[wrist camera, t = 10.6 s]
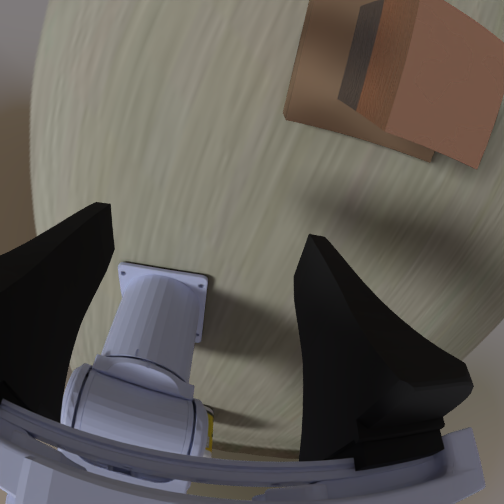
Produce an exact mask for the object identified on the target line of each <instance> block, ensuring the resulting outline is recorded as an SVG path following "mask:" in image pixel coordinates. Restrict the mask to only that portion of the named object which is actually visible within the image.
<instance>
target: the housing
mask: <svg viewBox="0 0 504 504" xmlns="http://www.w3.org/2000/svg"><path fill="white" fill-rule="evenodd" d="M503 95H504V42H502V41H501V40H500V39H499V38H497V37H496V36H495V35H494V34H492V33H491V32H490V31H488V30H487V29H486V28H484V27H483V26H482V25H480V24H479V23H478V22H476V21H475V20H473V19H472V18H470V17H469V16H467V15H466V14H464V13H463V12H461V11H460V10H458V9H457V8H455V7H454V6H452V5H450V4H449V3H447V2H445V1H444V0H377V1H374V2H371V3H368V4H365V5H362V6H360V10H359V14H358V19H357V23H356V27H355V31H354V36H353V40H352V44H351V48H350V52H349V56H348V60H347V64H346V68H345V71H344V75H343V79H342V83H341V87H340V90H339V94H338V98H337V99H338V100H340V101H341V102H343V103H344V104H346V105H348V106H349V107H351V108H352V109H353V110H355V111H356V112H358V113H359V114H361V115H362V116H364V117H365V118H366V119H368V120H369V121H371V122H372V123H373V124H375V125H376V126H378V127H379V128H380V129H382V130H383V131H384V132H387V133H390V134H393V135H395V136H398V137H401V138H404V139H407V140H409V141H412V142H414V143H417V144H420V145H422V146H425V147H427V148H430V149H432V150H435V151H437V152H439V153H442V154H444V155H446V156H449V157H451V158H453V159H455V160H458V161H460V162H462V163H464V164H466V165H468V166H470V167H473V168H475V169H477V168H478V166H479V164H480V161H481V159H482V156H483V154H484V151H485V149H486V146H487V143H488V141H489V138H490V135H491V132H492V129H493V127H494V124H495V121H496V118H497V114H498V111H499V108H500V105H501V102H502V98H503Z"/></svg>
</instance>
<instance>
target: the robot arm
mask: <svg viewBox="0 0 504 504" xmlns="http://www.w3.org/2000/svg"><path fill="white" fill-rule="evenodd" d="M114 249H115V247H114V238H113V228H112V216H111V204H107V203H100V202H95V203H93V204H91V205H89V206H87V207H85V208H84V209H82V210H80V211H78V212H77V213H75V214H73V215H72V216H70V217H68V218H67V219H65V220H64V221H62V222H60V223H59V224H57V225H55V226H54V227H52V228H50V229H49V230H47V231H45V232H44V233H42V234H40V235H39V236H37V237H35V238H34V239H32V240H30V241H28V242H27V243H25V244H23V245H21V246H19V247H17V248H15V249H13V250H11V251H9V252H7V253H5V254H3V255H0V489H2V490H3V491H5V492H6V493H7V498H6V503H5V504H455V503H457V502H459V501H461V500H463V499H465V498H467V497H469V496H471V495H473V494H475V493H477V492H479V491H480V490H482V489H484V488H485V481H484V476H483V471H482V466H481V462H480V458H479V453H478V450H477V446H476V442H475V438H474V434H473V431H472V428H471V427H468V428H465V429H462V430H459V431H455V432H451V433H448V434H446V435H444V436H441V433H440V429H442V428H443V427H444V425H445V423H444V420H443V416H445V415H446V414H447V413H449V412H450V411H451V410H453V409H454V408H455V407H457V406H458V405H459V404H461V403H462V402H463V401H464V400H465V399H466V398H467V397H468V396H469V395H470V394H471V391H472V389H473V387H474V386H473V383H472V380H471V377H470V374H469V372H468V369H467V366H466V364H465V363H464V362H462V361H461V360H459V359H457V358H456V357H454V356H452V355H451V354H449V353H447V352H445V351H444V350H442V349H441V348H439V347H437V346H436V345H435V344H433V343H432V342H430V341H429V340H427V339H426V338H424V337H423V336H422V335H420V334H419V333H418V332H416V331H415V330H414V329H413V328H411V327H410V326H409V325H408V324H407V323H405V322H404V321H403V320H402V319H400V318H399V317H398V316H397V315H396V314H395V313H394V312H393V311H392V310H390V309H389V308H388V307H387V306H386V305H385V304H384V303H383V302H382V301H381V300H380V299H379V298H378V297H377V296H376V295H375V294H374V293H373V292H372V291H371V290H370V289H369V287H368V286H367V285H366V284H365V283H364V282H363V281H362V280H361V279H360V277H359V276H358V275H357V274H356V273H355V272H354V270H353V269H352V268H351V267H350V266H349V265H348V263H347V262H346V261H345V260H344V258H343V257H342V256H341V255H340V254H339V252H338V251H337V250H336V249H335V248H334V246H333V245H332V244H331V243H330V242H329V241H328V240H327V239H326V237H323V236H317V235H312V234H309V235H308V238H307V241H306V244H305V247H304V249H303V252H302V255H301V258H300V261H299V263H298V266H297V269H296V272H295V274H294V302H295V309H296V316H297V323H298V329H299V336H300V342H301V349H302V359H303V417H302V434H301V445H300V455H299V462H261V461H239V460H226V459H215V458H206V457H203V455H204V451H205V448H206V443H207V437H208V415H207V411H206V409H205V408H204V406H203V404H202V402H201V401H200V400H199V399H195V398H193V394H194V385H191V384H189V378H190V371H191V364H192V357H193V351H194V344H195V343H199V342H201V339H202V329H203V320H204V311H205V302H206V294H207V285H208V278H207V277H206V276H204V275H199V274H192V273H186V272H180V271H173V270H167V269H161V268H155V267H149V266H143V265H137V264H131V263H125V262H121V263H120V264H119V265H118V273H119V280H120V287H121V293H122V300H121V302H120V305H119V307H118V310H117V313H116V315H115V318H114V320H113V323H112V326H111V328H110V331H109V334H108V336H107V339H106V342H105V345H104V347H103V350H102V353H101V355H99V354H97V355H96V358H95V361H94V364H93V367H92V365H89V364H87V363H84V364H82V366H80V367H77V368H76V369H75V370H74V371H73V373H72V375H71V377H70V379H69V381H68V384H67V387H66V389H65V393H64V388H65V382H66V376H67V372H68V367H69V363H70V359H71V355H72V351H73V347H74V344H75V341H76V337H77V334H78V331H79V328H80V325H81V323H82V320H83V318H84V316H85V313H86V311H87V309H88V307H89V305H90V303H91V301H92V299H93V297H94V295H95V293H96V291H97V289H98V287H99V285H100V283H101V281H102V279H103V277H104V275H105V273H106V271H107V268H108V266H109V263H110V261H111V258H112V255H113V252H114ZM123 271H124V272H125V273H124V272H123ZM200 284H202V285H200ZM63 394H64V396H63ZM35 438H36V439H38V440H40V441H43V442H45V443H48V444H50V445H52V446H55V447H57V448H58V449H57V450H56V449H54V448H52V447H50V446H48V445H46V444H43V443H42V442H40V441H38V440H36V439H35ZM191 482H198V483H206V484H218V485H230V486H251V487H285V488H275V489H267V490H266V491H265V494H263V495H257V496H254V497H253V498H252V501H249V500H233V499H223V498H213V497H204V496H197V495H190V494H186V492H187V489H189V487H190V485H191ZM289 486H294V487H289Z"/></svg>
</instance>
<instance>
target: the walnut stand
mask: <svg viewBox="0 0 504 504" xmlns="http://www.w3.org/2000/svg"><path fill="white" fill-rule="evenodd" d="M374 1H377V0H309V4H308V8H307V12H306V16H305V21H304V25H303V29H302V34H301V38H300V42H299V46H298V51H297V55H296V59H295V63H294V68H293V72H292V76H291V80H290V85H289V89H288V93H287V98H286V102H285V106H284V110H283V114H284V117H285V119H286V120H289V121H293V122H298V123H302V124H306V125H311V126H315V127H319V128H323V129H327V130H331V131H334V132H338V133H342V134H345V135H349V136H352V137H356V138H359V139H363V140H366V141H369V142H372V143H376V144H379V145H382V146H385V147H388V148H391V149H394V150H397V151H400V152H402V153H405V154H408V155H411V156H414V157H416V158H419V159H422V160H424V161H427V162H429V163H430V162H431V159H432V157H433V154H434V152H435V150H432V149H430V148H427V147H425V146H422V145H420V144H417V143H414V142H412V141H409V140H407V139H404V138H401V137H398V136H395V135H393V134H390V133H387V132H384V131H383V130H382V129H380V128H379V127H378V126H376V125H375V124H373V123H372V122H371V121H369V120H368V119H366V118H365V117H364V116H362V115H361V114H359V113H358V112H356V111H355V110H353V109H352V108H351V107H349V106H348V105H346V104H344V103H343V102H341V101H340V100H338V99H337V98H338V94H339V90H340V87H341V83H342V79H343V75H344V71H345V68H346V64H347V60H348V56H349V52H350V48H351V44H352V40H353V36H354V31H355V27H356V23H357V19H358V14H359V10H360V6H362V5H365V4H368V3H371V2H374Z"/></svg>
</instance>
